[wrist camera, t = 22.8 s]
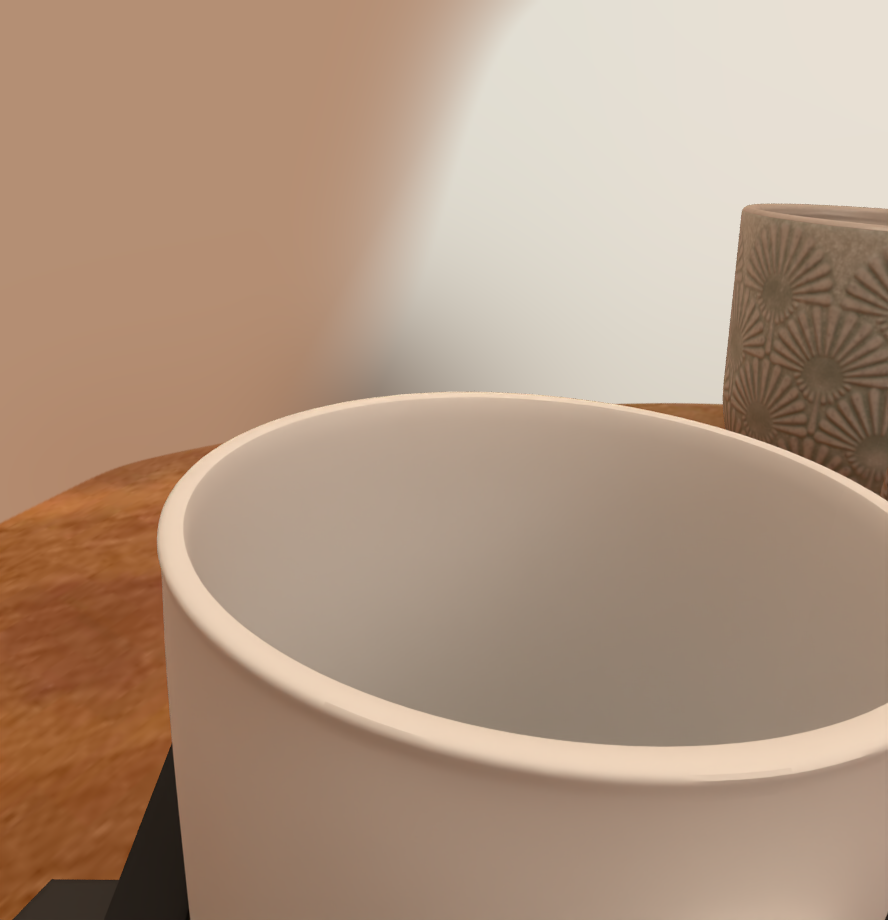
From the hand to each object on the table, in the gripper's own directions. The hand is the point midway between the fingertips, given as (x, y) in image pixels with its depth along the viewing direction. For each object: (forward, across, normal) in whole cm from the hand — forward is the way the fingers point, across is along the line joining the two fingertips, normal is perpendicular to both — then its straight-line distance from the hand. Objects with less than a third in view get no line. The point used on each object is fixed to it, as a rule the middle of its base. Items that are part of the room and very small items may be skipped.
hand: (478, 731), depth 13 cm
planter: (+31, +24, -9) cm, 40 cm away
